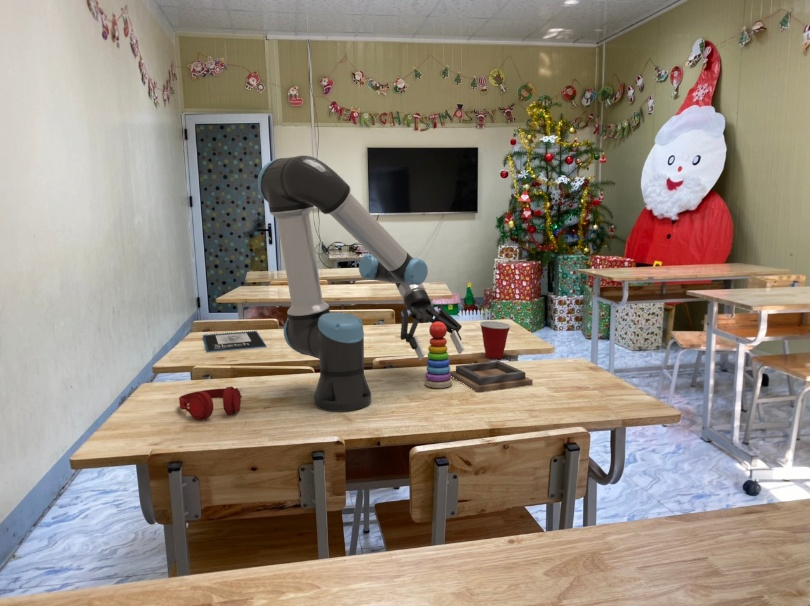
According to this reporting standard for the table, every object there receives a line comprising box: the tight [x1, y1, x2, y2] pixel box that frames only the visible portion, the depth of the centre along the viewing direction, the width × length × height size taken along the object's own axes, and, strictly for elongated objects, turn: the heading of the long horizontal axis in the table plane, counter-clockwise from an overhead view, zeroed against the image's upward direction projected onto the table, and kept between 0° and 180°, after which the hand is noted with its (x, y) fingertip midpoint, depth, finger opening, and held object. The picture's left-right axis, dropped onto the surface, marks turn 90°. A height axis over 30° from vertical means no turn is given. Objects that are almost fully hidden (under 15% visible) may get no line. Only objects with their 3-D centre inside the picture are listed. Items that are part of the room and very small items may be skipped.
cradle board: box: [449, 360, 534, 393], centre depth 177 cm, size 18×18×4 cm
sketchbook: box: [202, 329, 268, 354], centre depth 233 cm, size 22×30×2 cm
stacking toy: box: [424, 322, 453, 389], centre depth 171 cm, size 8×8×19 cm
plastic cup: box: [479, 320, 512, 360], centre depth 204 cm, size 11×11×12 cm
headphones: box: [178, 386, 243, 421], centre depth 154 cm, size 15×7×20 cm
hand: (442, 354), depth 170 cm, fingers open, 13 cm apart
